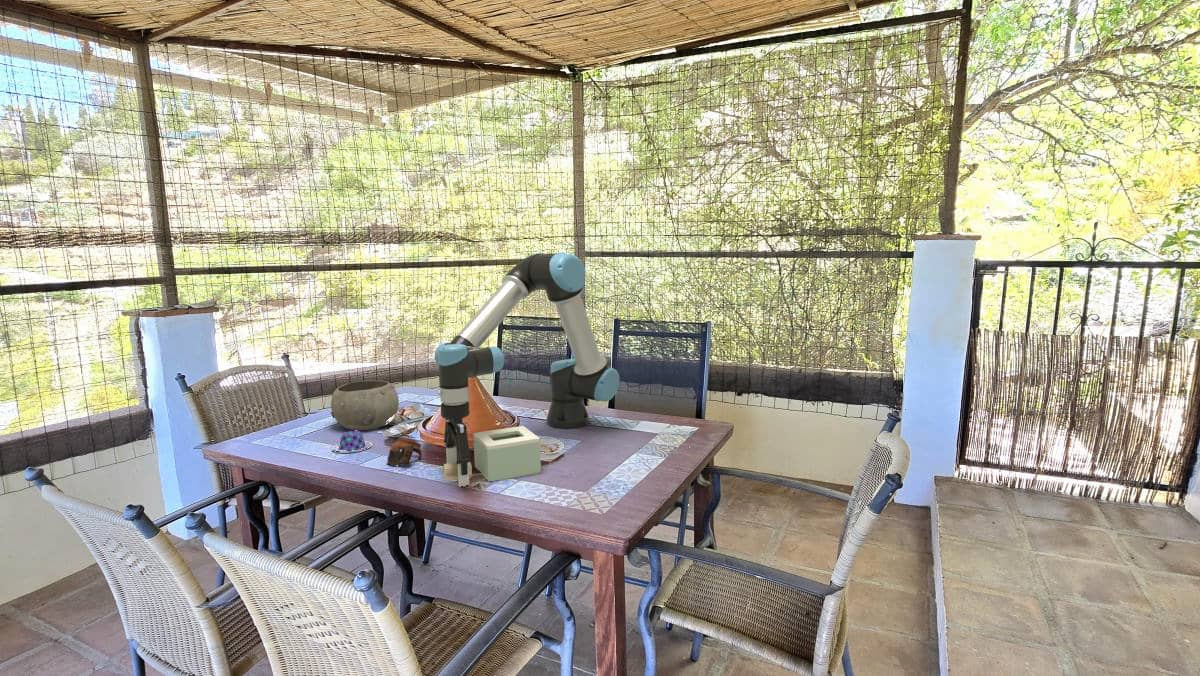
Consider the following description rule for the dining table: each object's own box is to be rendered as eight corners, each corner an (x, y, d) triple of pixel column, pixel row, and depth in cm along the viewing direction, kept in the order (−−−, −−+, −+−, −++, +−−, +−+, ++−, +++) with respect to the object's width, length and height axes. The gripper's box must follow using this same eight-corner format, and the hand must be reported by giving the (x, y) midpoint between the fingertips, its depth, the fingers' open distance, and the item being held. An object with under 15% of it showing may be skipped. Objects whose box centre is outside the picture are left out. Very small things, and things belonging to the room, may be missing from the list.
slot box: (524, 458, 183) (523, 425, 182) (540, 472, 171) (539, 438, 169) (474, 466, 177) (473, 433, 175) (488, 482, 164) (487, 446, 163)
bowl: (344, 417, 232) (341, 379, 229) (406, 415, 234) (403, 377, 232) (323, 435, 209) (320, 392, 207) (392, 432, 211) (389, 390, 209)
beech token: (470, 474, 171) (469, 461, 170) (472, 479, 167) (471, 465, 166) (444, 478, 168) (443, 464, 168) (445, 483, 165) (445, 468, 164)
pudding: (326, 455, 189) (325, 439, 188) (339, 443, 200) (337, 428, 200) (367, 453, 190) (365, 437, 189) (376, 442, 202) (375, 426, 201)
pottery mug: (381, 462, 182) (391, 436, 185) (411, 471, 186) (421, 445, 189) (390, 464, 172) (400, 436, 175) (421, 473, 176) (431, 445, 179)
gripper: (431, 394, 174) (434, 466, 177) (451, 414, 152) (454, 495, 155) (457, 391, 177) (460, 461, 180) (481, 410, 155) (483, 490, 158)
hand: (457, 477), depth 167 cm, fingers open, 13 cm apart
